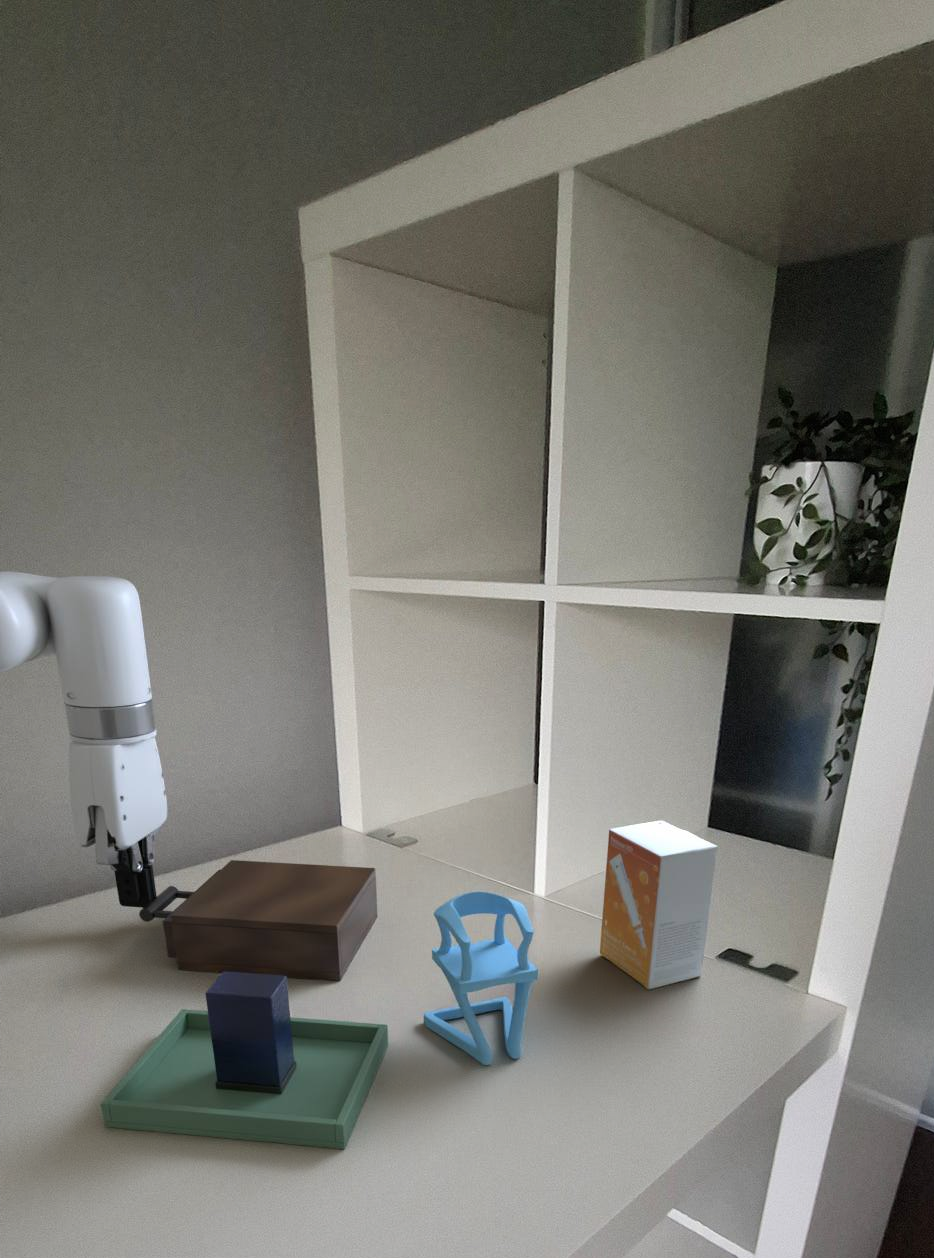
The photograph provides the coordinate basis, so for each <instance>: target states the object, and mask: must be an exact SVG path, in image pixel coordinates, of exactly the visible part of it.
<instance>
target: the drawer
mask: <svg viewBox="0 0 934 1258" xmlns="http://www.w3.org/2000/svg"><path fill="white" fill-rule="evenodd" d="M220 870H221V869H218V870H217V871H216V872H215V873H214V874H212V875H211V876H210V877H209V878H208V879H207V880H206V881H205V882H204V883H202V885H200V886H199V887H197V889H196V890H195V891H189V890H187V891H186V890H179V889H178V888H177V887H176V886H174V885H170V886H168V887H166V888H165V889H164V890H163V891H162V892H160V893H159V894H158V895H157V897H156V898H155V899H153V900H152V901H151V902H150V903H149V904H147V905H146V906H145V907H144V908H141V909H140V910H139V913H138V915H139V918H140V920H141V921H142V922H146V923H148V922H152V921H153V920H154V919H163V920H162V928H163V933H164V940H165V947H166V952H167V957H168V958H172V959H173V958H174V959H177V956H176V949H175V942H174V935H173V929H172V921H171V915H172V914H173V913H174V912H175V911H176V910H177V909H178V908H179V907H180V906H182V905H183V904H184V903H185V902H186V901H187V900H188V899H189V898H190V897H191V896H193V895H194V894H195V893H196V892H197V891H198V890H199V889H200V888H201V887H202V886H203V885H205V884H206V883H207V882H208V881H209V880H210V879H211V878H212V877H213V876H214V875H216V874H217V873H218V872H219V871H220ZM176 899H185V900H184V901H183V902H182V903H180V904H179V905H178V906H177V907H176V908H175V909H173V910H165V909H166V908H167V907H169V905H171V904H172V903H173V902H174V901H175V900H176Z"/></svg>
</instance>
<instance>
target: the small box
mask: <svg viewBox="0 0 934 1258" xmlns="http://www.w3.org/2000/svg"><path fill="white" fill-rule="evenodd" d="M607 841H608V842H607V853H606V854H607V855H606V856H607V857H606V866H605V880H604V890H603V891H604V892H603V893H604V894H603V906H602V917H601V918H602V919H601V930H600V931H601V932H600V942H599V943H600V944H599V955H600V956H602V957H603V958H605V959H607V960H608V961H610V962H611V964H614V965H615V966H617V968H619V969H620V970H622V971H623V972H625V973H626V974H628V975H629V977H631V978H633V979H634V980H636V981H637V982H638V983H639V984H641V985H642V986H643V987H644V988H646V989H647V990H652V989H656V988H660V987H663V986H668V985H672V984H675V983H679V982H683V981H687V980H691V979H694V978H695V979H696V978H698V977H700V976H702V974H703V966H704V965H703V964H704V957H705V956H704V955H705V950H706V949H705V948H706V940H707V933H708V926H709V925H708V924H709V917H710V909H711V901H712V899H711V898H712V894H713V884H714V877H715V876H714V875H715V867H716V859H717V853H718V845H716V844H714V843H712V842H709V841H708V840H706V839H703V838H701V837H699V836H697V835H696V834H693V832H690V831H688V830H684V829H681V828H679V827H677V826H675V825H673V824H671V823H668V822H667V821H665V820H656V821H649V822H643V823H636V824H631V825H630V824H629V825H625V826H620V827H619V826H618V827H614V828H610V829H608V840H607Z"/></svg>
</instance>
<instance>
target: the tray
mask: <svg viewBox="0 0 934 1258" xmlns="http://www.w3.org/2000/svg"><path fill="white" fill-rule="evenodd" d="M290 1020H291V1031H292V1042H293V1053H294V1061H296V1064H297V1068H296V1070H295V1071H294V1073H293V1075H292V1077H291V1078H290V1080H289V1082H288V1084H287V1085H286V1087H285V1089H284V1091H283V1092H282V1094H270V1093H259V1092H247V1091H236V1090H224V1089H216V1084H215V1082H216V1080H217V1076H216V1068H215V1061H214V1053H213V1046H212V1039H211V1031H210V1024H209V1017H208V1010H200V1009H187V1008H182V1009H181V1010H180V1011H179V1012H178V1013H177V1015H175V1017H173V1019H172V1020H171V1021H170V1022H169V1024H167V1026H166V1027H165V1028H164V1029H163V1031H162V1032H161V1033H160V1034H159V1035H158V1036H157V1037H156V1039H155V1040H154V1041H153V1042H152V1043H151V1045H150V1046H149V1047H148V1048H147V1049H146V1050H145V1051H144V1053H143V1054H142V1055H141V1056H140V1057H139V1058H138V1059H137V1061H136V1062H135V1063H134V1064H133V1065H132V1066H131V1068H130V1069H129V1070H128V1071H127V1072H126V1073H125V1075H124V1076H123V1077H122V1078H121V1079H120V1080H119V1081H118V1083H116V1085H115V1086H114V1087H113V1088H112V1089H111V1091H110V1092H109V1093H108V1094H107V1095H106V1096H105V1097H104V1099H103V1100H102V1101H101V1102H100V1108H101V1113H102V1119H103V1123H104V1127H105V1128H113V1127H114V1129H124V1128H125V1130H136V1131H145V1132H157V1133H166V1134H167V1133H169V1134H179V1135H189V1136H200V1137H210V1138H222V1139H232V1140H243V1141H253V1142H264V1143H274V1144H284V1145H285V1144H286V1145H297V1146H306V1147H317V1148H327V1149H328V1148H330V1149H340V1150H345V1149H346V1147H347V1144H348V1142H349V1140H350V1137H351V1135H352V1133H353V1130H354V1128H355V1126H356V1123H357V1120H358V1118H359V1116H360V1114H361V1112H362V1109H363V1106H364V1104H365V1102H366V1100H367V1098H368V1095H369V1092H370V1090H371V1087H372V1085H373V1083H374V1081H375V1078H376V1076H377V1073H378V1071H379V1069H380V1066H381V1063H382V1062H383V1059H384V1057H385V1055H386V1052H387V1049H388V1047H389V1032H388V1024H383V1023H371V1022H359V1021H344V1020H334V1019H333V1020H330V1019H317V1018H306V1017H292V1016H290ZM115 1127H116V1128H115Z"/></svg>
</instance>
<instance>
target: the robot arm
mask: <svg viewBox="0 0 934 1258" xmlns="http://www.w3.org/2000/svg"><path fill="white" fill-rule="evenodd" d="M141 607H142V606H141V601H140V596H139V592H138V590H137V588H136V587H135V585H134V584H133V583H132V582H130V581H129V580H128V579H125V578H122V577H117V576H109V575H107V576H104V575H79V576H78V575H77V576H76V575H75V576H66V577H52V576H48V575H47V576H45V575H39V574H33V573H29V572H28V573H27V572H21V571H0V673H3V672H6V671H9V670H12V669H13V668H16V667H18V666H20V665H23V664H26V663H28V662H31V661H35V660H38V659H41V658H44V657H50V656H51V657H52V656H55V657H56V663H57V668H58V675H59V681H60V687H61V692H62V698H63V702H64V709H65V715H66V722H67V728H68V732H69V733H68V735H69V739H70V741H71V742H69V744H68V782H69V793H70V805H71V812H72V813H71V814H72V820H73V821H72V822H73V827H74V828H73V829H74V833H75V839H76V842H77V844H78V845H79V846H80V847H81V848H89V847H91V846H94V845H95V846H94V847H95V863H96V864H97V865H100V866H101V865H102V866H109V867H110V869H111V871H113V872H114V878H115V884H116V890H117V897H118V902H119V905H120V906H122V907H128V908H129V907H130V908H139V909H140V908H141V909H143V908H144V907H145V906H146V905H147V904H149V903H150V902H151V901H152V900H153V899H155V898H156V897H157V896H158V895H157V890H156V882H155V874H154V868H153V867H154V866H153V865H152V864H153V863H154V860H155V859H154V858H155V854H154V841H155V837H156V836H157V835H158V834H159V832H160V831H161V826H162V825H164V823H165V822H166V820H167V818H168V801H167V792H166V785H165V778H164V773H163V768H162V763H161V758H160V754H159V748H158V744H157V741H156V736H157V734H158V733H157V732H158V731H157V725H156V718H155V710H154V702H153V701H154V700H153V694H152V686H151V678H150V671H149V663H148V661H149V660H148V654H147V647H146V639H145V631H144V623H143V617H142V608H141Z"/></svg>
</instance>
